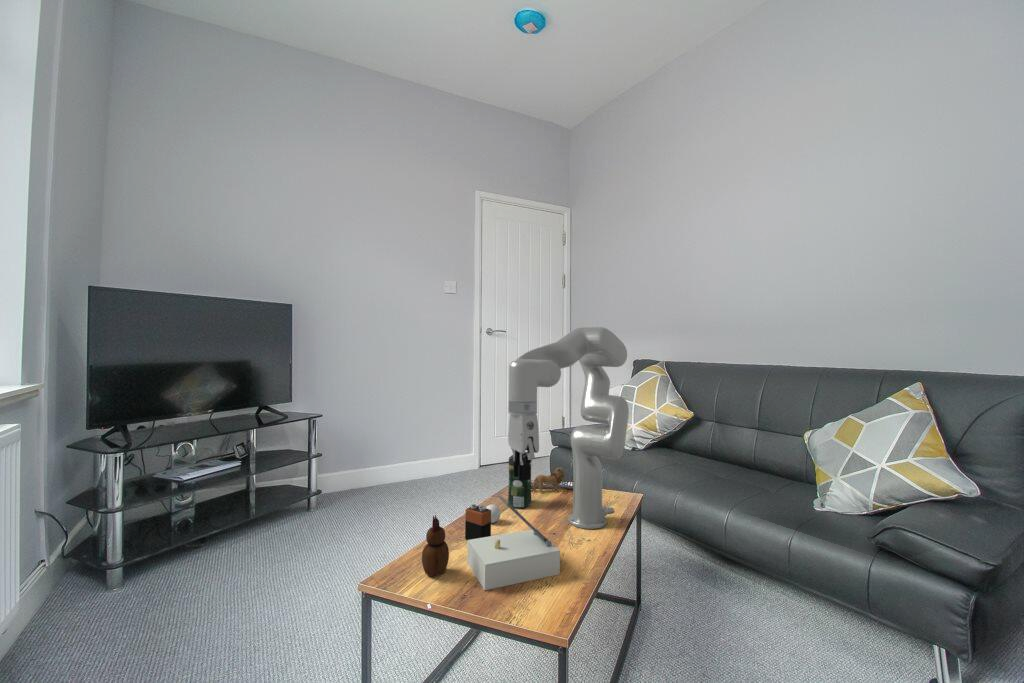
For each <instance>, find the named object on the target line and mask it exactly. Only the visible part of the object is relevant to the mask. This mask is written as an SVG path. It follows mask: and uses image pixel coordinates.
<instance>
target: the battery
mask: <svg viewBox="0 0 1024 683" xmlns="http://www.w3.org/2000/svg"><path fill="white" fill-rule="evenodd" d="M486 507H487V506H483V505H480V506H479V505H477V504H471V506H470V507H468V508H466V509H465V519H464V520H465V521H464V522H465V523H464V525H465V528H464V529H465V532H464V538H465V540H467V541H468V540H471V539H477V538H483V537H489V536H492V523H491V510H490V509H486Z"/></svg>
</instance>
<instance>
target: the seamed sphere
mask: <svg viewBox="0 0 1024 683" xmlns="http://www.w3.org/2000/svg"><path fill="white" fill-rule="evenodd" d="M485 507H486V509H490V510H491V524H494V523H496V522H498V521H499V520H500V518H501V509H500V507H499V506H498V505H496V504H493V503H492V504H488V505H487V506H485Z"/></svg>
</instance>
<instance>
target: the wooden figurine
mask: <svg viewBox="0 0 1024 683" xmlns="http://www.w3.org/2000/svg"><path fill="white" fill-rule="evenodd" d="M431 526H432V527H429V529H428V530H427V531H426V535H425V536H426V537H425V538H426V540H425V541H426V545H425V546H424V547H423V549H422V552H421V563H422V569H423V571H424V573H425V574H426V575H427V576H429V577H433V578H434V577H438V576H441V575H442V574H443V573H445V571H446V568H447V566H448V563H449V559H450V551H449V546H448V543H447V542H446V541H445V540H446V530H445V529H444V527H443V526H440V520H439V519H438V517H437V515H432V525H431Z"/></svg>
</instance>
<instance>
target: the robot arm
mask: <svg viewBox="0 0 1024 683" xmlns="http://www.w3.org/2000/svg"><path fill="white" fill-rule="evenodd" d="M627 359H628V350H627V347H626V345H625V344H624V342H623V340H621V339H620V338H619V337H618V336H617V335H616V334H615V333H613V332H612V331H611V330H610V329H608V328H606V327H601V326H600V327H598V326H596V327H593V326H592V327H577V328H575V329H572V330H571V331H570V332H569V333H567V334H565V335H564V336H563V337H561V338H560V339H559V340H557V341H555V342H552V343H549V344H548V343H547V344H546V345H543V346H540V347H536V348H533V349H531V350H529V351H526V352H525V353H523V354H522V355H520V356H519V357H517V358H516V359H515V360H513V361H510V363H509V366H508V406H507V407H508V408H507V409H508V412H507V413H508V414H509V419H508V420H509V421H508V436H507V437H508V438H507V439H508V440H507V441H508V446H509V447H510V449H511V451H512V455H513V461H515V462H513V476H514V477H518V480H520V481H523V480H530V469H531V470H532V461H533V460H534V459H535V457H536V456H535V454H537V453H539V451H540V435H539V434H540V433H539V421H538V420H539V419H538V415H537V414H538V388H551V387H554V386H556V385H557V384H558V383H559V381H560V380H561V376H562V370H561V369H566V368H569V367H571V366H573V365H574V364H576V362H579V363H580V365H581V369H582V371H583V375H584V387H583V391H582V392H583V393H582V398H581V404H580V416H581V418H582V419H583V420H585V421H586V422H591V423H596V424H604V425H609V426H608V427H601V426H597V425H588V424H582V425H577V426H576V427H574V428H573V430H572V431H571V434H570V445H571V453H572V460H573V461H572V462H573V463H572V464H573V465H572V466H573V468H572V469H573V472H572V473H573V475H572V476H573V477H572V478H573V482H572V483H573V484H572V490H573V491H572V512H571V513H570V514H568V516H567V521H568V522H569V524H570V525H572V526H574V527H576V528H580V529H587V530H593V529H594V530H596V529H601V528H604V527H605V526H606V525H607V523H608V522H607V518H606V516H607V515H612V514H615V509H614V507H607V506H606V505H605V506H603V467H602V464H601V461H600V459H599V458H603V459H610V460H618V459H619V458H621V456H623V454H624V453H623V452H624V449H625V445H626V437H627V431H628V424H629V423H628V422H629V412H630V410H629V404H628V401H627V400H626V399H625V398H624V397H622V396H619V395H610V386H611V381H610V377H609V376H608V373H607V372H606V370H605V369H604V368H605V367H607V368H609V367H610V368H611V367H612V368H619V367H622V366H623V365H624V364H626V362H627ZM603 367H604V368H603ZM524 455H527V456H525V457H524Z"/></svg>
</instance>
